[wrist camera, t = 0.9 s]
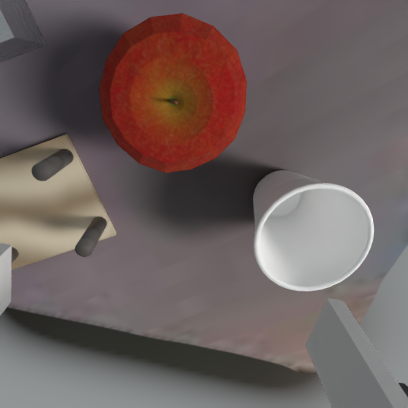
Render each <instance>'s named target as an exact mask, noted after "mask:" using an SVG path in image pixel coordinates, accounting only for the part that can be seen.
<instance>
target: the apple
mask: <svg viewBox="0 0 408 408" xmlns="http://www.w3.org/2000/svg"><path fill="white" fill-rule="evenodd" d="M246 85H247V81H246V78H245V74H244V71H243V68H242V65H241V62H240V58H239V55H238V52H237V50H236V49H235V48H234V47H233V46H232V45H231V44H230V42H229V41H228V40H227V39H226V38H225V37H224V36H223V35H222V34H221V33H220V32H219V31H218V30H217V29H216V28H215V27H214V26H212V25H210V24H207V23H205V22H202V21H200V20H197V19H195V18H193V17H190V16H188V15H185V14H183V13H181V14H173V15H165V16H156V17H150V18H148V19H147V20H145V21H143V22H142V23H140V24H138V25H137V26H135V27H133V28H132V29H130V30H128V31H127V32H125V33H123V35H122V36H121V38H120V39H119V41H118V43H117V44H116V46H115V47H114V49H113V50H112V52H111V54H110V55H109V57H108V58H107V60H106V64H105V68H104V72H103V76H102V80H101V84H100V88H99V91H100V100H101V109H102V118H103V120H104V122H105V124H106V126H107V127H108V129H109V131H110V132H111V134H112V136H113V138H114V139H115V141H116V143H117V144H118V145H119V146H120V147H121V148H122V149H123V150H124V151H126V152H127V153H128V154H129V155H130V156H131V157H132V158H134V159H135V160H136V161H137V162H138V163H140V164H142V165H145V166H148V167H151V168H153V169H156V170H159V171H161V172H164V173H168V172H175V171H182V170H190V169H193V168H195V167H197V166H200V165H202V164H204V163H206V162H208V161H210V160H213V159H215V158H216V157H217V156H218V155H219V154H220V153H221V152H222V151H223V150H224V149H225V148H226V147H227V146H228V145H229V144H230V143H231V142H232V141H233V140H234V139H235V138H236V135H237V132H238V130H239V127H240V124H241V122H242V119H243V116H244V114H245V105H246Z"/></svg>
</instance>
